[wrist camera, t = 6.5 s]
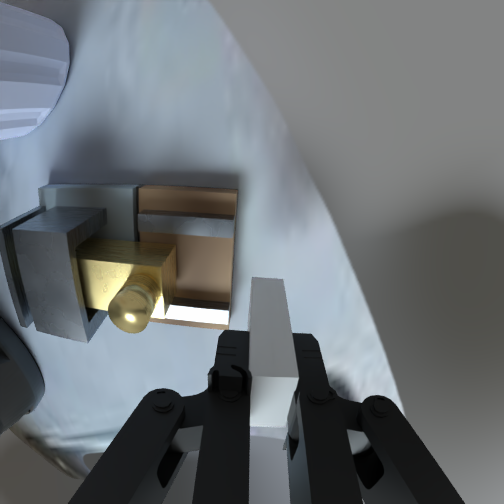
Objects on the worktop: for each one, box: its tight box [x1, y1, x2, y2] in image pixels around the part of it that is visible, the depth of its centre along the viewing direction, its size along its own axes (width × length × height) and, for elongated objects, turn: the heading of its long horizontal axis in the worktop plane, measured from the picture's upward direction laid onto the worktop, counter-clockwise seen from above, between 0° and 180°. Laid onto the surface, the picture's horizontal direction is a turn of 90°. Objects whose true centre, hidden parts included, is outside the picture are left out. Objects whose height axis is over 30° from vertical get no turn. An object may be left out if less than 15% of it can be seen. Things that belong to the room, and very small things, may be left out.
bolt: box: [75, 238, 177, 333], centre depth 15 cm, size 7×3×5 cm, turn 86°
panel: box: [38, 184, 238, 330], centre depth 19 cm, size 13×9×1 cm
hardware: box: [0, 206, 235, 343], centre depth 16 cm, size 13×7×5 cm, turn 86°
